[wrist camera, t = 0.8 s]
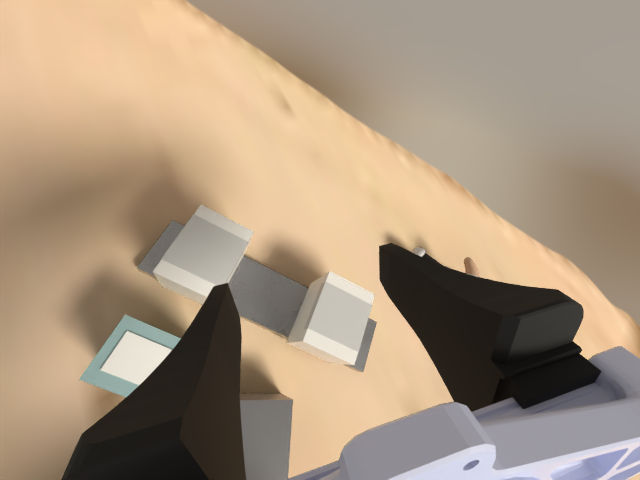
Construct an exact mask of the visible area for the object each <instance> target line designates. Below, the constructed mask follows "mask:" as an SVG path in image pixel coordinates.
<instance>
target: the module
mask: <svg viewBox="0 0 640 480" xmlns="http://www.w3.org/2000/svg"><path fill="white" fill-rule="evenodd" d="M180 339H181V338H179V337H176V336H174V335H172V334H169V333H167V332H165V331H162V330H160V329H158V328H155V327H153V326H151V325H148V324H146V323H144V322H141V321H139V320H137V319H134V318H132V317H130V316H128V315H125V316H124V317H123V318H122V320H121V321H120V323H119V324H118V325H117V327H116V328H115V330H114V331H113V332H112V334H111V335H110V337H109V338H108V340H107V341H106V342H105V344H104V345H103V347H102V348H101V349H100V351H99V352H98V354H97V355H96V356H95V358H94V359H93V361H92V362H91V363H90V365H89V366H88V368H87V369H86V370H85V372H84V373H83V375H82V376H81V377H80V379H79V380H82V381H84V382H87V383H90V384H92V385H95V386H98V387H100V388H103V389H106V390H108V391H111V392H113V393H116V394H119V395H121V396H124V397H127V396H128V395H129V394H130V393H132V392H133V391H134V390H135V389H136V388H137V387H138V386H139V385H140V384H141V383H142V382H143V381H144V380H145V379H146V378H147V377H148V376H149V375H150V374H151V373H152V372H153V371H154V370H155V369H156V368H157V367H158V365H159V364H160V363H161V362H162V361H163V360H164V359H165V358H166V357H167V356H168V354H169V353H170V352H171V351H172V350H173V348H174V347H175V346H176V345H177V343H178V342H179V341H180Z"/></svg>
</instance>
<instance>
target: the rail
mask: <svg viewBox="0 0 640 480" xmlns="http://www.w3.org/2000/svg"><path fill="white" fill-rule="evenodd" d="M183 228H184V226H183V225H181V224H179V223H177V222H175V221H173V220H172V222H171V223H170V224H169V226H168V227H167V228H166V230H165V231H164V232H163V234H162V235H161V236H160V238H159V239H158V240H157V242H156V243H155V244H154V246H153V247H152V248H151V250H150V251H149V252H148V254H147V255H146V256H145V258H144V259H143V260H142V262H141V263H140V264H139V266H138V267H137V269H138V270H139V271H141V272H143V273H145V274H147V275H149V276H151V277H154V278H156V276H155V275H154V273H153V271H154V269H155V268H156V266H157V265H158V264H159V262H160V261H161V259H162V257H163V256H164V254H165V253H166V252H167V250H168V249H169V247H170V246H171V245H172V243H173V242H174V240H175V239H176V238H177V236H178V235H179V233H180V232H181V231H182V229H183ZM156 279H157V278H156ZM228 285H229V288H230V290H231V293H232V296H233V299H234V302H235V305H236V307H237V310H238V313H239V316H240V317H241V318H243V319H245V320H247V321H249V322H251V323H254V324H256V325H258V326H260V327H262V328H265V329H267V330H269V331H271V332H273V333H275V334H278V335H280V336H282V337H284V338H286V339H288V337H289V335H290V332H291V330H292V328H293V325H294V323H295V320H296V318H297V315H298V313H299V311H300V308H301V306H302V303H303V301H304V298H305V296H306V294H307V291H308V289H309V288H307V287H305V286H303V285H301V284H299V283H297V282H295V281H293V280H291V279H289V278H287V277H285V276H283V275H281V274H279V273H277V272H275V271H273V270H271V269H269V268H267V267H265V266H263V265H261V264H259V263H257V262H255V261H253V260H251V259H249V258H247V257H245V256H243V258H242V259H241V261H240V263H239V265H238V267H237V268H236V270H235V272H234V274H233V275H232V277H231V279H230V281H229V283H228ZM376 323H377V322H375V321H373V320H371V319H369V318H368V321H367V325H366V328H365V332H364V335H363V339H362V342H361V346H360V349H359V352H358V354H357V358H356V361H355V365H347V364H343V365H345V366H347V367H349V368H352V369H354V370H356V371H358V372H363V371H364V367H365V364H366V360H367V356H368V352H369V349H370V345H371V341H372V338H373V334H374V330H375V327H376Z"/></svg>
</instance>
